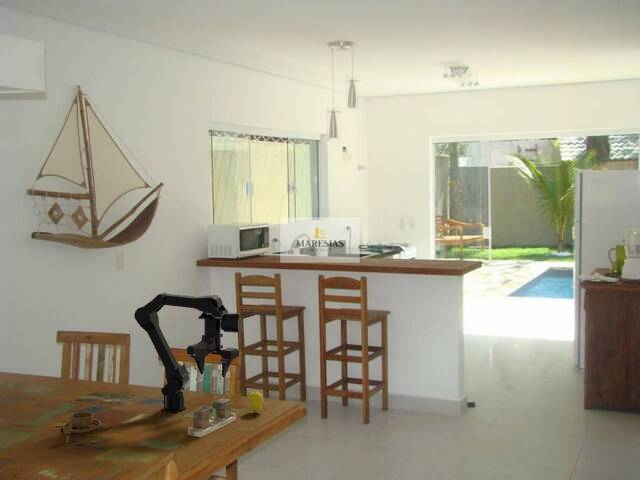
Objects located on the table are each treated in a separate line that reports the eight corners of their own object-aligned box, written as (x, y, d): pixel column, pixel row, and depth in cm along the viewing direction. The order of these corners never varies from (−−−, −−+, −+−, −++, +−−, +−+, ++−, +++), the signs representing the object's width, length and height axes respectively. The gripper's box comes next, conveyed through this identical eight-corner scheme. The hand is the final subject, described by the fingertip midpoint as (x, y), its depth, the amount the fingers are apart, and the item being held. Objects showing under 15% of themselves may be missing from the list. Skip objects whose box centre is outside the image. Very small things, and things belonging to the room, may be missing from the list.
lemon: (261, 415, 265) (261, 393, 265) (245, 414, 266) (245, 392, 266) (265, 411, 270) (265, 389, 270) (250, 410, 272) (250, 388, 271)
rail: (188, 434, 244) (187, 411, 243) (223, 418, 262) (223, 396, 262) (200, 437, 242) (200, 413, 241) (236, 420, 260) (236, 398, 259)
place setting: (115, 428, 252) (115, 411, 251) (68, 446, 234) (68, 427, 234) (76, 420, 260) (76, 403, 260) (29, 437, 243) (28, 418, 242)
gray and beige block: (213, 419, 255) (212, 402, 255) (221, 415, 260) (221, 398, 259) (222, 421, 253) (222, 403, 253) (230, 417, 258) (230, 399, 258)
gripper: (176, 333, 264) (176, 377, 265) (221, 338, 256) (222, 383, 257) (195, 328, 274) (195, 370, 275) (239, 332, 266) (239, 376, 267)
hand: (212, 375), depth 268 cm, fingers open, 9 cm apart
